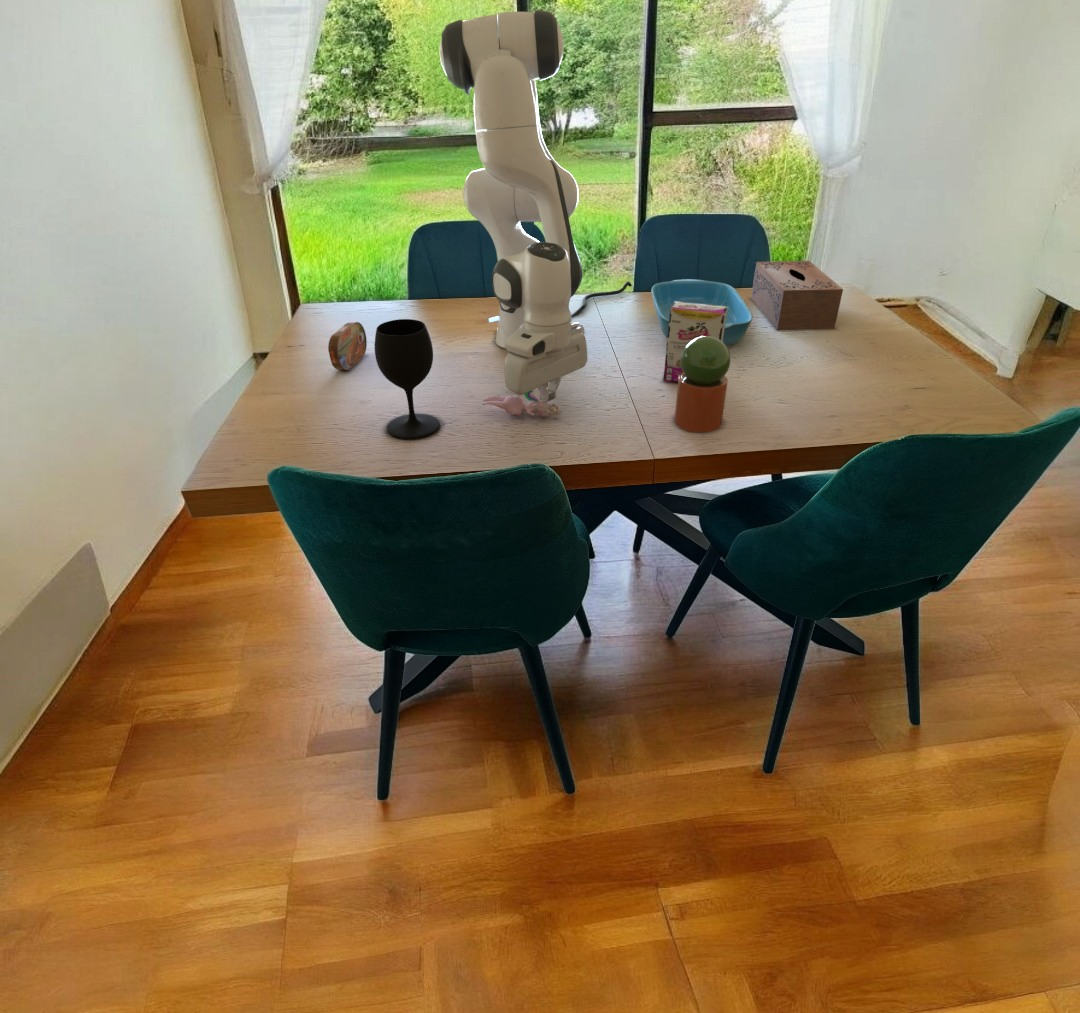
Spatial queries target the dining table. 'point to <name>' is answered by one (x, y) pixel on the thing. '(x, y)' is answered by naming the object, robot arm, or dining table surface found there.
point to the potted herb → (702, 385)
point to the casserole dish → (703, 294)
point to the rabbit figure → (522, 405)
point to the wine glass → (406, 371)
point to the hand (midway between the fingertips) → (548, 400)
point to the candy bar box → (690, 331)
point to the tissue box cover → (796, 295)
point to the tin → (347, 346)
